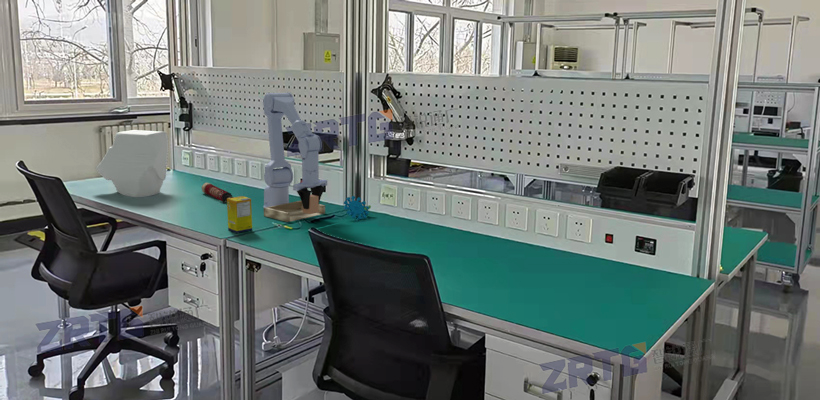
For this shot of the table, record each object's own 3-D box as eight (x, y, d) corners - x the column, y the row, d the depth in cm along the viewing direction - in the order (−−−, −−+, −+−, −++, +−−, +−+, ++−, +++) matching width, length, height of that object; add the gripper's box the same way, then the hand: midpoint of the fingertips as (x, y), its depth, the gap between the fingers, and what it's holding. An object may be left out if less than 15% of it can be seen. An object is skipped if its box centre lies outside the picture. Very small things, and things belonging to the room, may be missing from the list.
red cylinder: (239, 195, 252) (211, 183, 276) (228, 192, 249) (200, 179, 273) (235, 207, 252) (207, 193, 275) (224, 204, 249) (197, 190, 272)
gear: (348, 217, 228) (342, 194, 232) (341, 226, 232) (335, 203, 236) (375, 218, 234) (368, 195, 239) (368, 226, 238) (361, 204, 243)
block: (302, 212, 229) (302, 196, 227) (311, 210, 232) (310, 194, 231) (310, 214, 226) (310, 197, 225) (318, 212, 229) (318, 196, 228)
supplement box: (243, 227, 218) (242, 195, 215) (252, 230, 213) (251, 198, 211) (227, 230, 213) (226, 198, 211) (236, 233, 209) (235, 200, 207)
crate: (263, 217, 232) (263, 207, 231) (301, 209, 246) (301, 200, 245) (287, 223, 224) (287, 213, 223) (325, 214, 238) (325, 205, 237)
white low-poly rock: (144, 199, 257) (140, 135, 252) (95, 193, 268) (90, 131, 262) (182, 190, 276) (179, 131, 271) (135, 184, 287) (131, 127, 281)
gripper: (302, 173, 218) (303, 212, 221) (333, 169, 229) (333, 206, 232) (288, 171, 222) (289, 209, 225) (319, 166, 233) (319, 203, 236)
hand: (310, 207), depth 229 cm, fingers closed on block, 4 cm apart
